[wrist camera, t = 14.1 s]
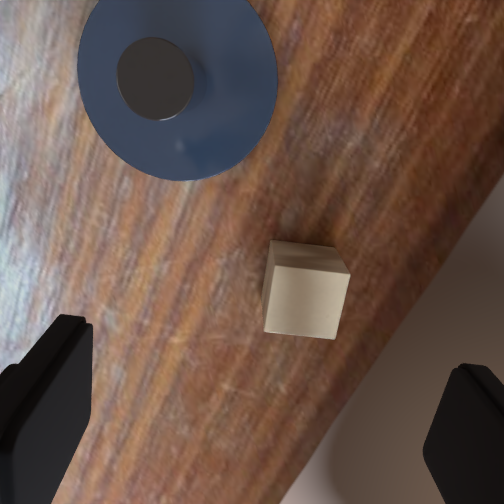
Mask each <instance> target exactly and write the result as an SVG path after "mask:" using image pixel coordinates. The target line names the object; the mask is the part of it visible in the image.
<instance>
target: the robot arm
mask: <svg viewBox="0 0 504 504" xmlns="http://www.w3.org/2000/svg"><path fill="white" fill-rule="evenodd" d="M92 352H93V325H92V324H90V323H86V319H85V317H81V316H73V315H65V314H60V315H59V316H58V317H57V318H56V319H55V321H54V322H53V323H52V324H51V325H50V327H49V328H48V329H47V330H46V331H45V333H44V334H43V335H42V336H41V338H40V339H39V340H38V341H37V342H36V344H35V345H34V346H33V347H32V348H31V350H30V351H29V352H28V353H27V354H26V356H25V357H24V358H23V359H22V360H21V362H20V363H19V364H11V365H9V366H8V367H6V368H5V369H4V370H3V372H2V373H1V374H0V504H51V502H52V500H53V498H54V496H55V494H56V492H57V489H58V487H59V485H60V483H61V481H62V479H63V477H64V474H65V472H66V470H67V468H68V466H69V464H70V462H71V460H72V457H73V455H74V453H75V451H76V449H77V447H78V445H79V442H80V440H81V438H82V436H83V434H84V432H85V430H86V427H87V425H88V422H89V419H90V414H91V392H92ZM423 457H424V460H425V463H426V465H427V467H428V469H429V471H430V473H431V475H432V477H433V479H434V481H435V483H436V485H437V487H438V489H439V491H440V493H441V495H442V497H443V499H444V501H445V503H446V504H504V385H503V384H502V383H501V382H500V380H499V379H498V378H497V377H496V376H495V375H494V374H493V373H492V371H491V370H490V369H489V368H488V367H486V366H483V365H474V364H466V363H463V364H460V365H459V366H458V368H454V369H453V370H452V372H451V374H450V377H449V379H448V382H447V385H446V387H445V390H444V393H443V396H442V398H441V401H440V403H439V406H438V409H437V411H436V414H435V416H434V419H433V422H432V425H431V427H430V430H429V432H428V435H427V438H426V440H425V443H424V446H423Z"/></svg>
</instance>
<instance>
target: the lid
mask: <svg viewBox="0 0 504 504" xmlns="http://www.w3.org/2000/svg"><path fill="white" fill-rule="evenodd" d="M77 71H78V83H79V88H80V93H81V98H82V101H83V104H84V107H85V110H86V112H87V114H88V116H89V119H90V121H91V123H92V124H93V126H94V128H95V129H96V131H97V133H98V134H99V136H100V137H101V138H102V139H103V141H104V142H105V143H106V145H107V146H108V147H109V148H110V149H111V150H112V151H113V152H114V153H115V154H116V155H118V156H119V157H120V158H121V159H123V160H124V161H125V162H126V163H128V164H130V165H131V166H133V167H134V168H136V169H138V170H140V171H142V172H144V173H146V174H149V175H152V176H155V177H158V178H161V179H167V180H172V181H196V180H201V179H206V178H210V177H213V176H215V175H218V174H221V173H223V172H225V171H227V170H229V169H230V168H232V167H233V166H235V165H236V164H238V163H239V162H240V161H242V160H243V159H244V158H245V157H246V156H247V155H248V154H249V153H250V152H251V151H252V150H253V149H254V147H255V146H256V145H257V144H258V142H259V141H260V139H261V138H262V136H263V135H264V133H265V131H266V129H267V127H268V125H269V123H270V120H271V117H272V114H273V111H274V107H275V102H276V97H277V87H278V74H277V64H276V58H275V53H274V49H273V46H272V42H271V39H270V37H269V35H268V32H267V30H266V28H265V26H264V24H263V22H262V21H261V19H260V17H259V15H258V14H257V12H256V11H255V10H254V9H253V7H252V6H251V5H250V3H249V2H248V1H247V0H100V1H99V2H98V3H97V5H96V6H95V8H94V9H93V11H92V12H91V14H90V16H89V18H88V20H87V22H86V25H85V27H84V30H83V33H82V36H81V40H80V45H79V51H78V63H77Z"/></svg>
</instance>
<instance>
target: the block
mask: <svg viewBox="0 0 504 504" xmlns="http://www.w3.org/2000/svg"><path fill="white" fill-rule="evenodd" d="M349 278H350V273H349V271H348V269H347V267H346V266H345V264H344V262H343V260H342V259H341V257H340V255H339V253H338V252H337V250H336V248H335V247H327V246H319V245H310V244H302V243H294V242H286V241H278V240H270V246H269V252H268V258H267V264H266V271H265V277H264V283H263V290H262V296H261V302H262V315H263V328H264V332H272V333H281V334H290V335H299V336H309V337H318V338H327V339H335V337H336V333H337V329H338V324H339V320H340V316H341V312H342V308H343V304H344V299H345V295H346V291H347V287H348V283H349Z"/></svg>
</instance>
